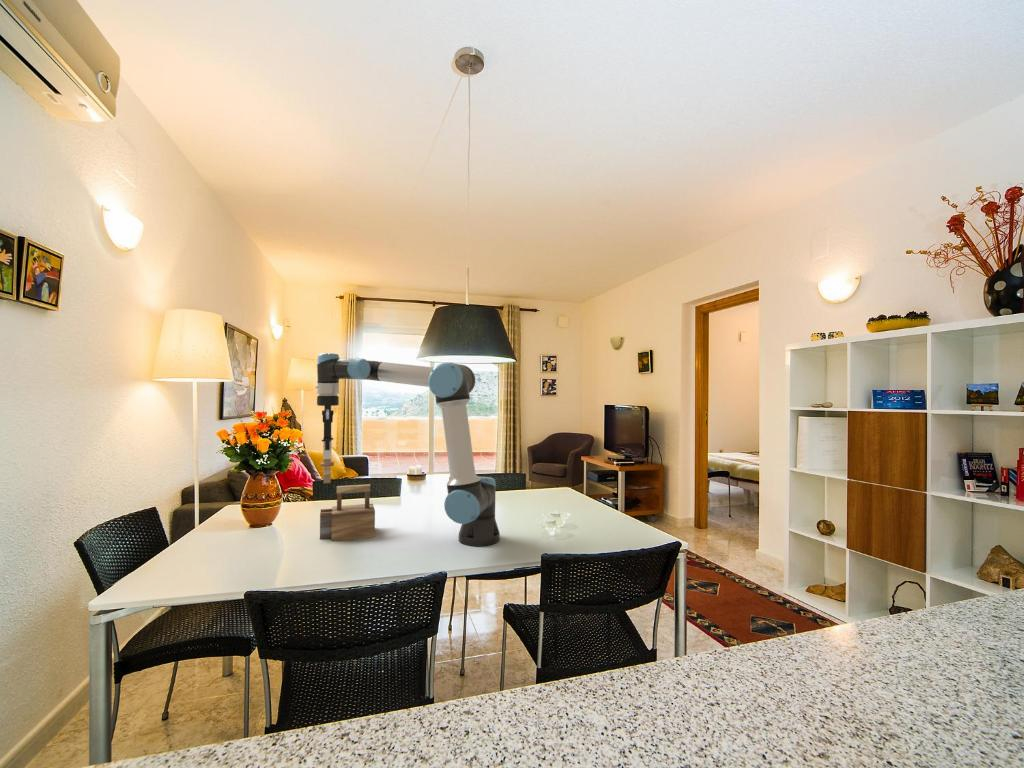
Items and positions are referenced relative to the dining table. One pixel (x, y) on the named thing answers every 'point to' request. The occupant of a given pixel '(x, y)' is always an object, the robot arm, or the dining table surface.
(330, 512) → the lid
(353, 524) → the toolbox
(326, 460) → the key peg
